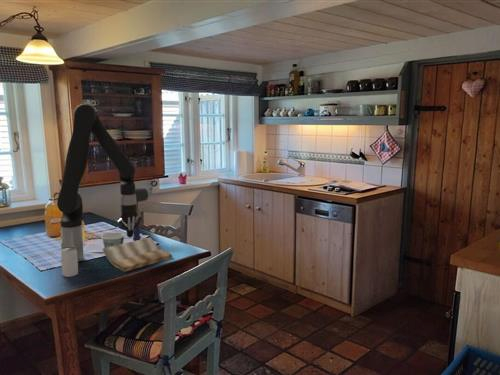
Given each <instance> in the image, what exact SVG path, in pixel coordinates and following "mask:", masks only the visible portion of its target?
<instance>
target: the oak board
mask: <svg viewBox="0 0 500 375" xmlns="http://www.w3.org/2000/svg"><path fill="white" fill-rule="evenodd" d="M172 258H173V253H170V252H168V251H165V250H163V249H161V248H160V250H156V251H152V252H149V253H145V254H141V255H137V256H133V257H130V258H126V259H122V260H118V261H114V262H113V265H112V266H113V267H115V268H116V269H118V270H120V271H121V272H125V273H126V272H129V271H133V270H136V269H138V268H142V267H146V266H150V265H153V264H156V263H160V262H164V261H167V260H170V259H171V260H172Z"/></svg>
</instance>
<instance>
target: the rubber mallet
mask: <svg viewBox="0 0 500 375" xmlns="http://www.w3.org/2000/svg"><path fill="white" fill-rule="evenodd" d="M135 194H136V203H137V214H138V216H139V217H140V214H139V203H140V202H145V201H147V200H148V198H149V192H148V190H147V189H146V187H143V188H141V187H138V188H135ZM135 220H136V219H135ZM134 222H135V221H134ZM140 229H141V221H140V222H139V224H138V226H137V227H136V228H134V229H133V237H132V240H133V241H137V240H141V236H140Z"/></svg>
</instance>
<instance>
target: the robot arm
mask: <svg viewBox="0 0 500 375" xmlns="http://www.w3.org/2000/svg"><path fill="white" fill-rule="evenodd" d="M71 134H72V135H71V138H70V141H69V143H68V148H67V152H66V158H65V163H64V164H65V165H64V170H63V176H62V177H63V178H62V182H61V186H60V187H61V188H60V190H59V194H58V196H57V197H58V198H57V201H56V206H57V208H58V210H59V211H60V212H61V213H62V217H61V218H60V219H61V220H60V233H61V234H60V235H61V243H60V250H61V251H62V248H64V247H69V246H73V247H76V250H77V260H78V262H80V261H83V260H84V258H85V256H84V240H83V238H84V237H83V223H82V222H83V215H84V211H83V209H84V208H83V199H82V196H81V195H80V194H79V187H80V184H81V181H82V179H83V177H84V174H85V172H86V170H87V167H88V161H89V156H90V137H91V134H92V135H93V137H94V138H95V140H96V141H97V143H98V145H99V146H100V148H101V150H102V151H103V152H104V153H105V155H106V156H107V158H108V159H109V160H110V161H111V162H112V163H113V165H114V167H115V168H116V170H117V171H118V175H119V176H118V177H119V184H120V187H119V189H120V201H119V202H120V213H121V215H120V218H119V220H118V219H117V220H116V223H117V224H118V226H120V228H122V229H123V230H124V231H126V236H127V237H128V238H133V236H134V228H136V227H137V226H138V224H139V222H140V223H141V220H142V218H143V217H141V216H140V215H139V213H138V214H137V203H136V194H135V189H136V183H135V173H136V169H135V166H134V164H133V163H132V162H131V161H130V160H129V158H128V157H127V156H126V155H125V153H124V152H123V150H122V149H121V148H120V146H119V144H118V143H117V141H115V139H114V138H113V137H112V136H111V134H110V133H109V131H108V130H107V129H106V128H105V125H104V124H103V123H102V121H101V120H100V118H99V115H98V113H97V110H96V109H95V107H94V105H91V104H89V103H81V104H79V105H77V106H76V108H75V109H74V111H73V127H72V133H71ZM138 215H139V216H138ZM135 219H136V220H135ZM134 221H135V222H134ZM61 251H60V252H61Z"/></svg>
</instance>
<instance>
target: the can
mask: <svg viewBox="0 0 500 375" xmlns="http://www.w3.org/2000/svg"><path fill="white" fill-rule="evenodd" d="M60 259H61V260H60V261H61V275H62V276H63V277H65V278H71V277H75V276H77V275H78V274H79V265H78V264H79V261H78V260H77V250H76V247H73V246H69V247H64V248H62V251H60Z"/></svg>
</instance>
